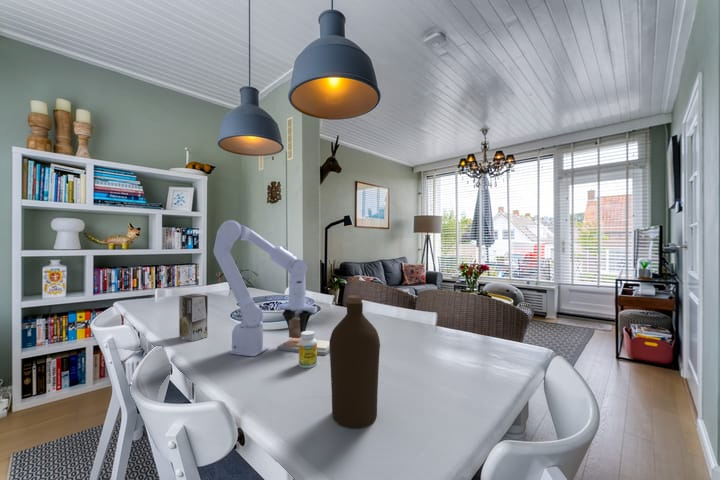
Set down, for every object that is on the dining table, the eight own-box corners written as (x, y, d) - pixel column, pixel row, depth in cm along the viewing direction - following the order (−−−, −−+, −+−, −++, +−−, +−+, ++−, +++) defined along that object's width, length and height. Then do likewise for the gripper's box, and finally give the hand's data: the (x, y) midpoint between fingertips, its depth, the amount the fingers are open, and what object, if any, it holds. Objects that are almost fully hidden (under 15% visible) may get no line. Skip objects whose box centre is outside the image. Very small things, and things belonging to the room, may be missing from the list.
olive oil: (355, 438, 57) (355, 303, 57) (318, 416, 64) (319, 296, 64) (390, 414, 65) (390, 296, 65) (354, 397, 72) (354, 290, 72)
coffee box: (208, 337, 118) (208, 295, 118) (191, 341, 112) (191, 297, 112) (195, 333, 122) (195, 293, 123) (178, 337, 117) (178, 295, 117)
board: (277, 349, 104) (277, 344, 104) (293, 339, 115) (293, 335, 115) (325, 355, 99) (325, 350, 99) (338, 344, 109) (338, 340, 109)
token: (289, 337, 107) (288, 320, 107) (294, 334, 110) (294, 317, 110) (299, 338, 105) (299, 321, 105) (304, 335, 109) (304, 318, 109)
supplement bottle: (312, 360, 95) (312, 329, 95) (320, 365, 90) (320, 333, 91) (295, 363, 92) (296, 331, 92) (303, 370, 87) (303, 336, 88)
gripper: (320, 292, 110) (320, 330, 110) (285, 290, 114) (285, 327, 114) (311, 295, 103) (311, 336, 103) (274, 293, 108) (274, 332, 107)
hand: (297, 331), depth 108 cm, fingers closed on token, 4 cm apart
